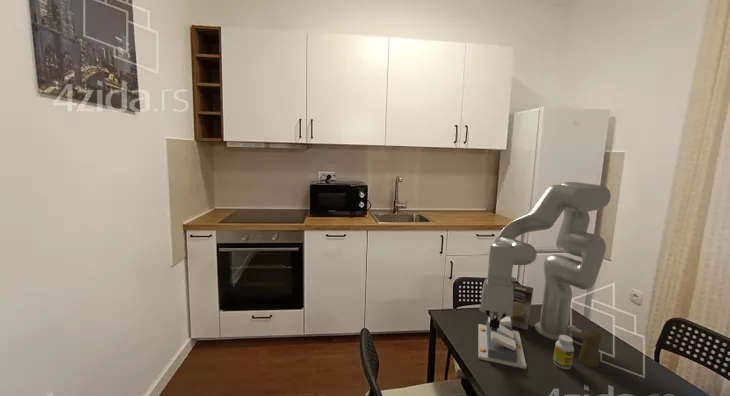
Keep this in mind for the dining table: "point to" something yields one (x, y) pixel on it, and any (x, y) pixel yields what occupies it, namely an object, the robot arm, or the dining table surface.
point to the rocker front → (503, 340)
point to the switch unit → (499, 348)
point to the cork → (590, 349)
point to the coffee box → (521, 306)
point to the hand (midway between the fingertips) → (494, 329)
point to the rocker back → (503, 321)
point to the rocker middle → (505, 332)
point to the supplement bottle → (563, 352)
